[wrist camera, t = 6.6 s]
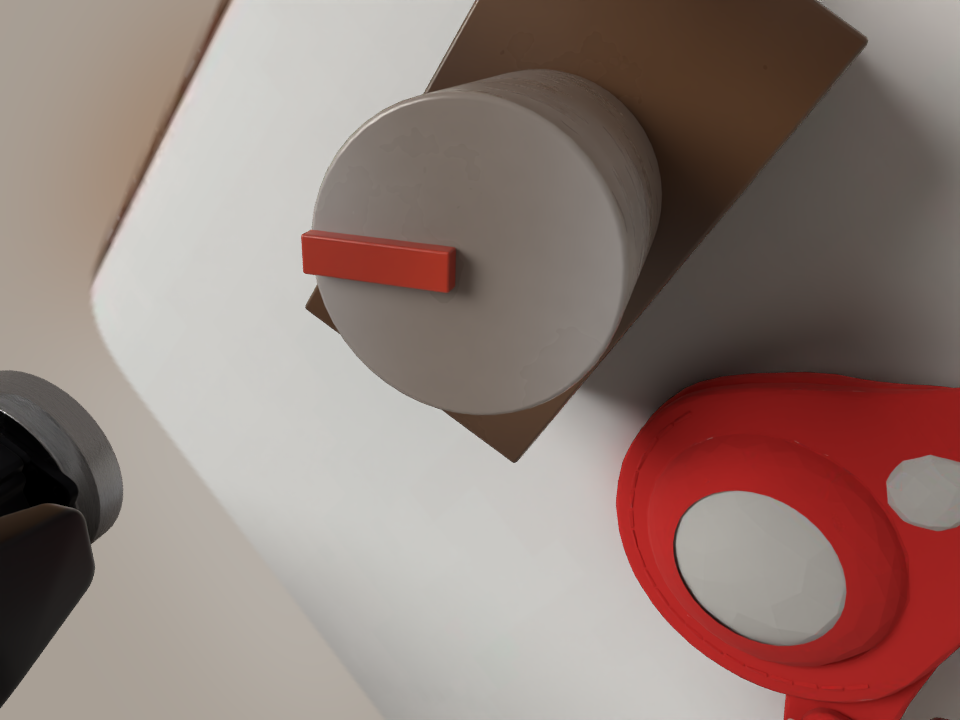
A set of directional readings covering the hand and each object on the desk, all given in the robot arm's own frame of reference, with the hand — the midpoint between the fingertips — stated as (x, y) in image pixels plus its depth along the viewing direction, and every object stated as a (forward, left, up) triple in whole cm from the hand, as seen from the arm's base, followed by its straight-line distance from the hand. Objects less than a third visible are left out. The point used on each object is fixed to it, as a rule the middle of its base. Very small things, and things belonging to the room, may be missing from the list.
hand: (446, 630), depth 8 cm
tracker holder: (-3, -8, -13) cm, 16 cm away
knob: (+2, +2, -8) cm, 9 cm away
